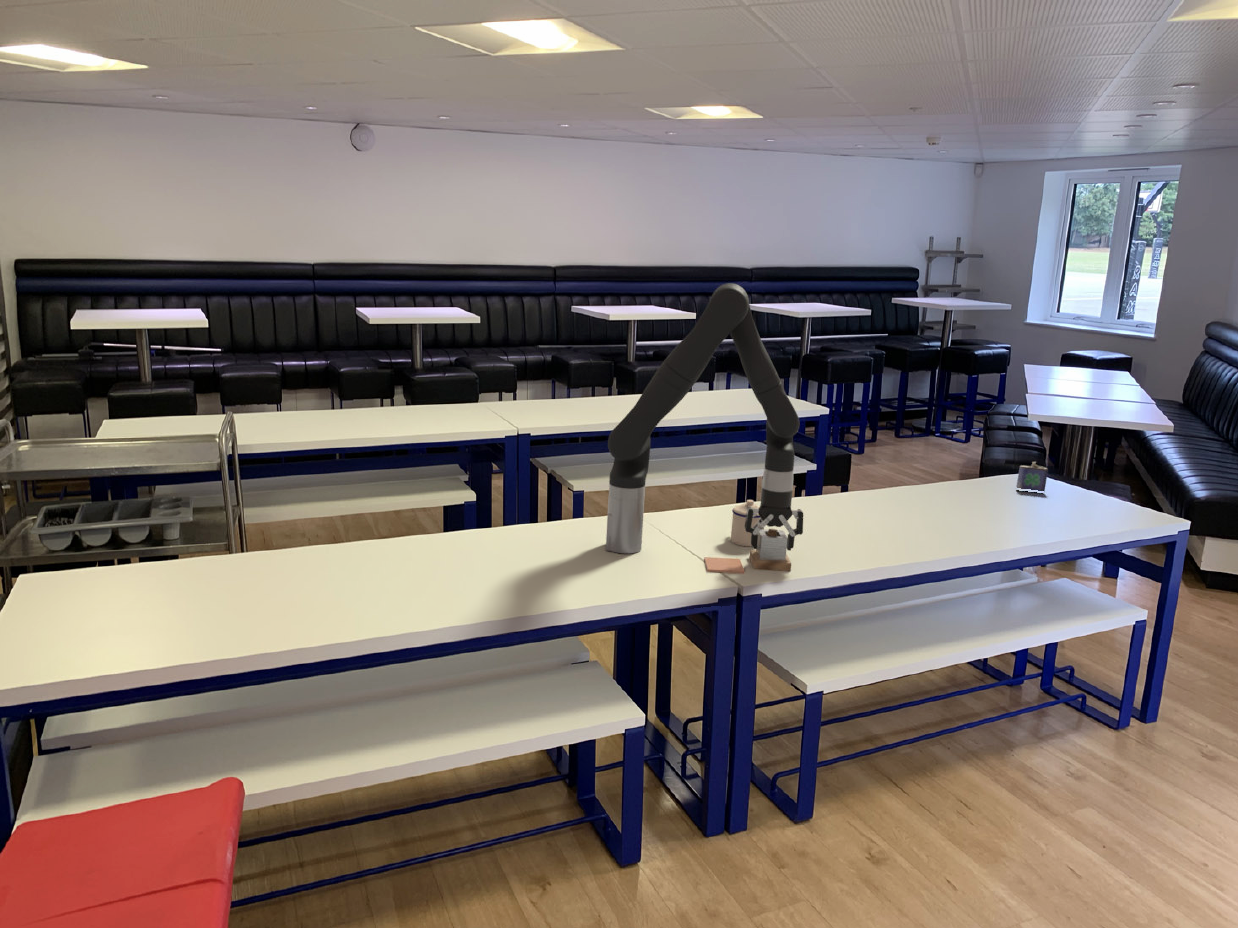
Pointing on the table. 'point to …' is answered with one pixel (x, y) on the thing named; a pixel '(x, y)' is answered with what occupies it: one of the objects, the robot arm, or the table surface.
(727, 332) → the robot arm
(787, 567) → the post block
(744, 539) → the beige lidded canister
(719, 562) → the tile
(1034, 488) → the flask
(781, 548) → the grey square nut
